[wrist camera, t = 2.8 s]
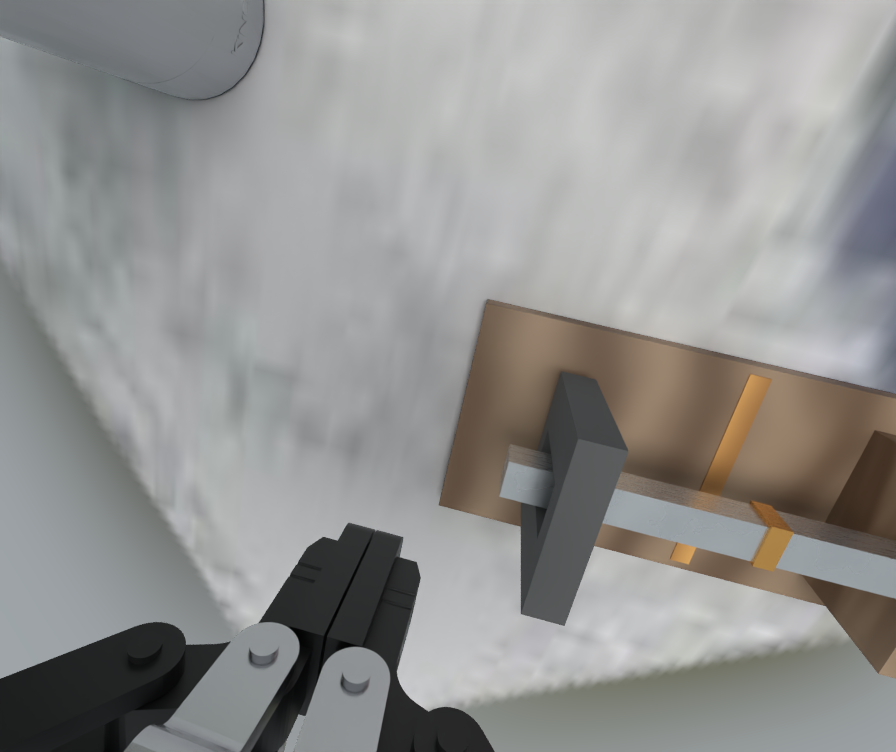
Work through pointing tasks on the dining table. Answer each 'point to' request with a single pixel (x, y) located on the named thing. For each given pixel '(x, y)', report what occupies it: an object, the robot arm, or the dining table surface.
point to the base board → (692, 445)
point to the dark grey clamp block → (569, 497)
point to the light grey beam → (722, 526)
